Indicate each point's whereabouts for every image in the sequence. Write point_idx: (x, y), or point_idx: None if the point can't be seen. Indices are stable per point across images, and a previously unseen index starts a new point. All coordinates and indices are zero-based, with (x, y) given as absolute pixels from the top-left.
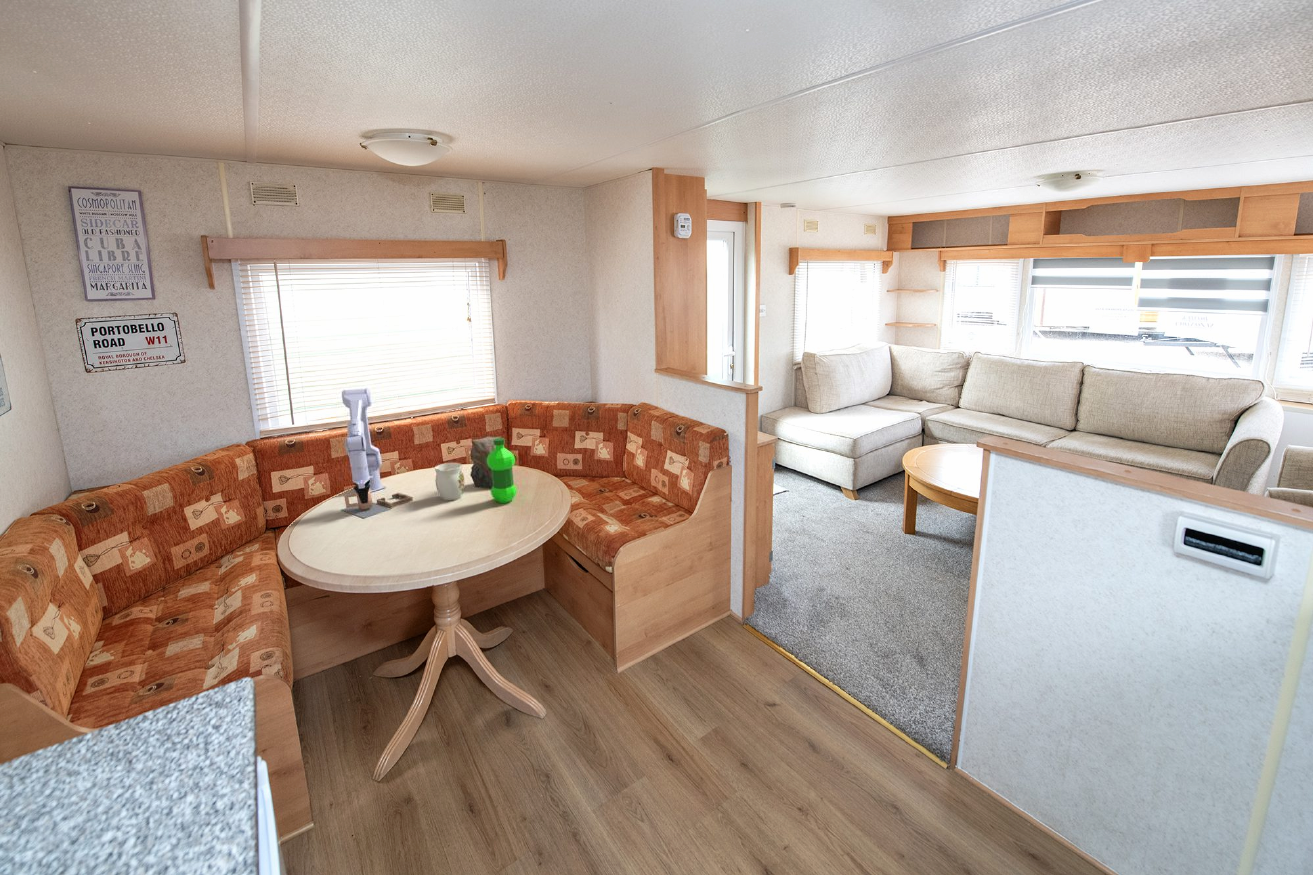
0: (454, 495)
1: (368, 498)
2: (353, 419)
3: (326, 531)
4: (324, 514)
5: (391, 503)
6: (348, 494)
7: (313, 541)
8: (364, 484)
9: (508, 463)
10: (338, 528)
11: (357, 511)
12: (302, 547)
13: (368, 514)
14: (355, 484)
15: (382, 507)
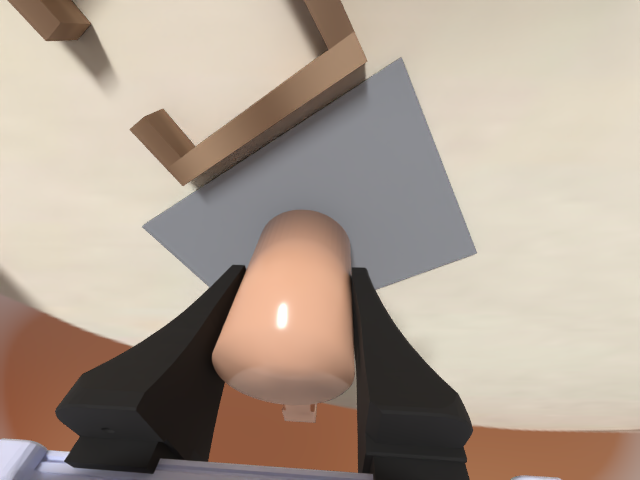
0: None
1: (343, 279)
2: None
3: (522, 369)
4: None
5: (342, 48)
6: (300, 409)
7: (600, 396)
8: (188, 391)
9: None
10: (528, 340)
11: None
12: (626, 414)
13: (428, 229)
14: (209, 448)
15: (323, 136)
